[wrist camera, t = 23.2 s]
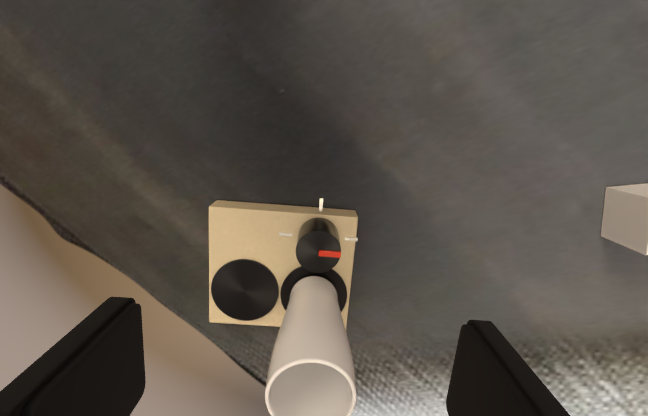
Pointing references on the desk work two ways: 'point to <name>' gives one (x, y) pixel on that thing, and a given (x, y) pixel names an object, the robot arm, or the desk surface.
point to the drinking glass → (311, 356)
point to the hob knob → (318, 245)
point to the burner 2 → (302, 273)
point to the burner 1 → (244, 289)
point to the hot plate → (271, 245)
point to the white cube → (627, 216)
